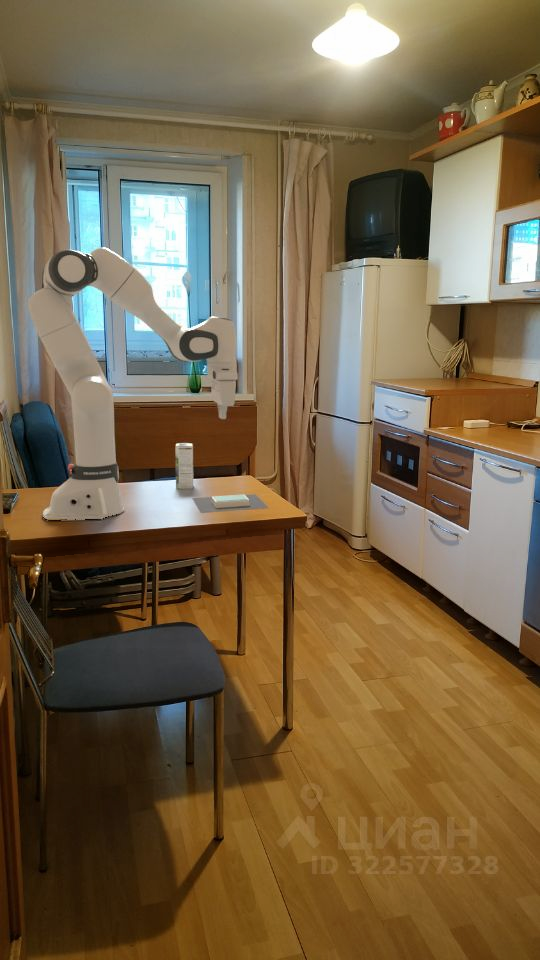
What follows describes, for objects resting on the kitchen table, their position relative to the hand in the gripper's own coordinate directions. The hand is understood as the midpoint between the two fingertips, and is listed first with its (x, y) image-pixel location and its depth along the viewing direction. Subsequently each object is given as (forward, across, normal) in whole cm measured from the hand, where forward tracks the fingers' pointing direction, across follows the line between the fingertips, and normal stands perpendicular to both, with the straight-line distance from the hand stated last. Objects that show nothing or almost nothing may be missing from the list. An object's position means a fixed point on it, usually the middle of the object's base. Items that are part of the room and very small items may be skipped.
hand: (222, 418), depth 207 cm
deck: (+24, +6, 0) cm, 24 cm away
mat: (+25, +8, 0) cm, 26 cm away
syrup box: (+25, -19, -10) cm, 33 cm away
